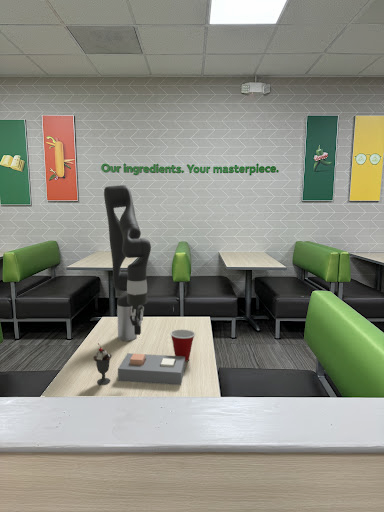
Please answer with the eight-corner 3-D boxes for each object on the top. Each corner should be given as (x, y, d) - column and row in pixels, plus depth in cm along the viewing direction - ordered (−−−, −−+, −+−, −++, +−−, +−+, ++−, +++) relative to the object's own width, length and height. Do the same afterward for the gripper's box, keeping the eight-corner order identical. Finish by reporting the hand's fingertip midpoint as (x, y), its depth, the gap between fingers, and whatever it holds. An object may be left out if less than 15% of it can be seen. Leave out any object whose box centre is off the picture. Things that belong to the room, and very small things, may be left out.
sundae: (96, 377, 130) (94, 340, 128) (113, 376, 131) (112, 340, 128) (92, 386, 124) (91, 348, 121) (111, 386, 124) (110, 348, 122)
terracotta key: (133, 363, 136) (133, 353, 135) (145, 363, 135) (145, 354, 134) (130, 368, 131) (130, 359, 130) (142, 369, 130) (142, 360, 130)
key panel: (127, 364, 140) (127, 353, 140) (185, 367, 138) (185, 356, 137) (118, 381, 128) (117, 368, 127) (180, 385, 125) (181, 372, 125)
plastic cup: (198, 355, 150) (198, 329, 148) (190, 366, 139) (190, 339, 137) (175, 351, 153) (175, 326, 151) (166, 362, 143) (166, 335, 141)
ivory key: (163, 367, 135) (163, 358, 134) (174, 368, 134) (174, 358, 134) (160, 373, 130) (160, 364, 129) (173, 374, 130) (173, 364, 129)
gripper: (132, 286, 135) (132, 327, 138) (122, 295, 122) (123, 340, 125) (150, 286, 134) (150, 328, 137) (142, 296, 121) (143, 341, 124)
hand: (137, 334), depth 131 cm, fingers closed
